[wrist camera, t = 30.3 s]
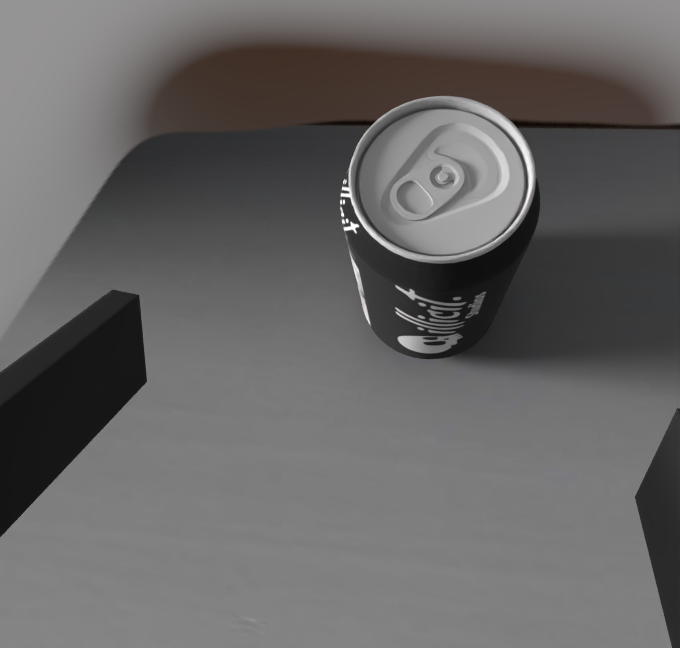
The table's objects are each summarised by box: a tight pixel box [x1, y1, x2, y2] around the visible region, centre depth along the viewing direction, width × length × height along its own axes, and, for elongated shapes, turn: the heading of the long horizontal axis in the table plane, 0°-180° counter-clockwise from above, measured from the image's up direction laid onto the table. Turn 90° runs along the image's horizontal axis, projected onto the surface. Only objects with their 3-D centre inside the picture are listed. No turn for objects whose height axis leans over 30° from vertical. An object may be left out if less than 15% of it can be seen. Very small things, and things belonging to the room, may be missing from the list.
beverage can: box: [340, 96, 540, 359], centre depth 24 cm, size 7×7×12 cm
